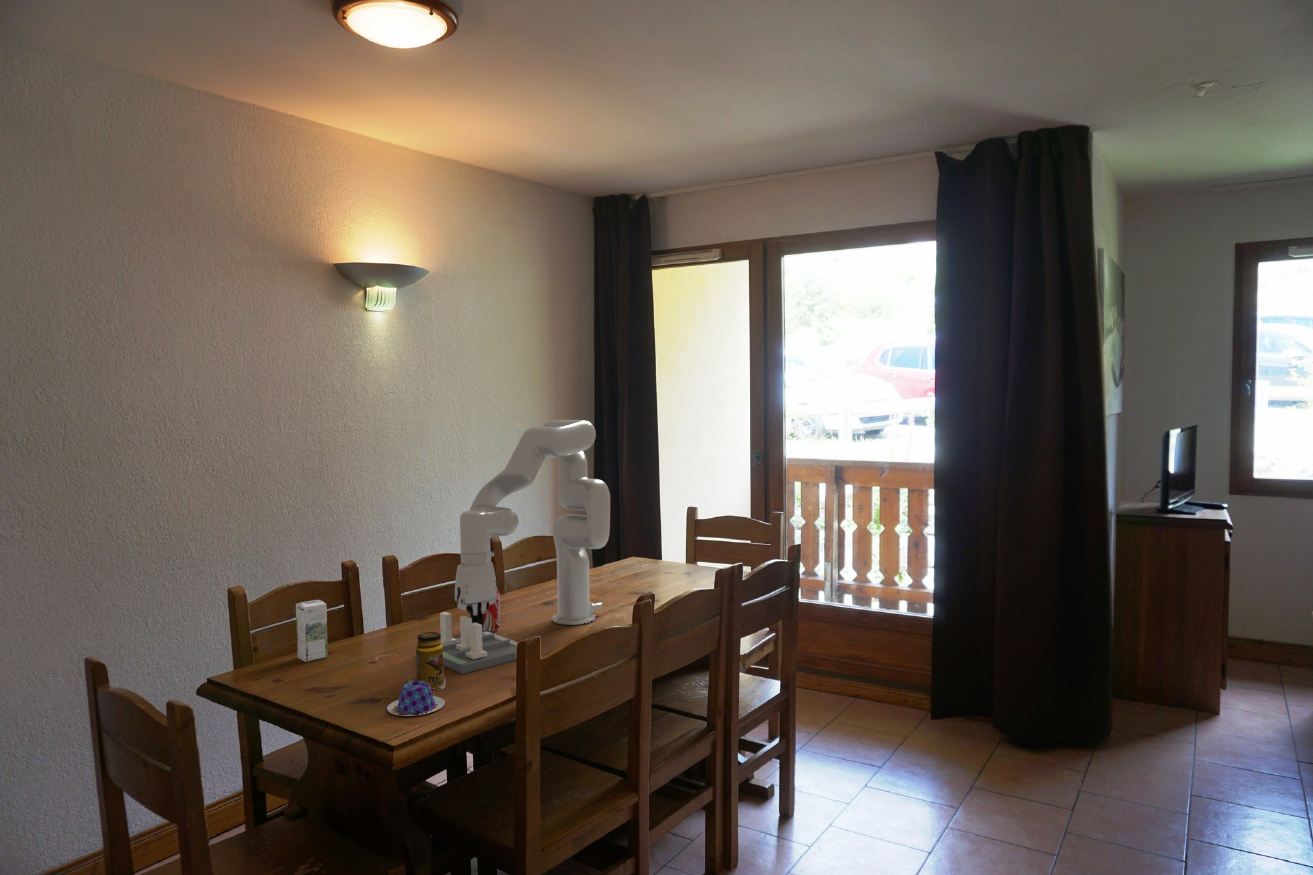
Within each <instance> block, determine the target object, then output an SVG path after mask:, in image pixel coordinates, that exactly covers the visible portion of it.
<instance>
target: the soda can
mask: <svg viewBox="0 0 1313 875" xmlns="http://www.w3.org/2000/svg"><path fill="white" fill-rule="evenodd" d="M500 596H501V595H500V592H499V591H498V587H497V586H496V597H495V600H496V602H495V603H493V604H491V605H489V606H488V608H487V609H486V612H485V613H484V624H483V629H482V632H487V631H488V632H491V633H493V632H496V631H497V630H498V629H500V628H501V600H500ZM476 605H477V603H476Z"/></svg>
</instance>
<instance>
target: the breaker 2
mask: <svg viewBox="0 0 1313 875" xmlns="http://www.w3.org/2000/svg"><path fill="white" fill-rule="evenodd" d="M485 656H487V652H486V651H484V650H482V625H481V624H478V623H471V624H470V651H469V652H466V657H469V658H471V659H477V658H481V657H485Z"/></svg>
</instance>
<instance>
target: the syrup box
mask: <svg viewBox="0 0 1313 875" xmlns="http://www.w3.org/2000/svg"><path fill="white" fill-rule="evenodd" d="M327 616H328V614H327V603H325V602H324V601H323V600H320V599H313V600H309V601H308V600H307V601H303V602H298V603H297V602H296V604H295V623H296V624H295V625H296V630H295V631H296V657H297V659H299V660H300V661H302V662H305V663H309V662H313V661H317V660H321V659H322V660H323V659H327V658H328V627H327V626H328V624H327V623H328V622H327V620H328V617H327Z"/></svg>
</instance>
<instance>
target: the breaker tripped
mask: <svg viewBox="0 0 1313 875" xmlns="http://www.w3.org/2000/svg"><path fill="white" fill-rule="evenodd" d="M459 621H460V622H459V624H460V626H459V630H460V637H461V644H457V645H456V649H458V650H461V651H462V650H466V649H470V624H471V623H472V618H470V616H466V615H462V616H460V617H459Z"/></svg>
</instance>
